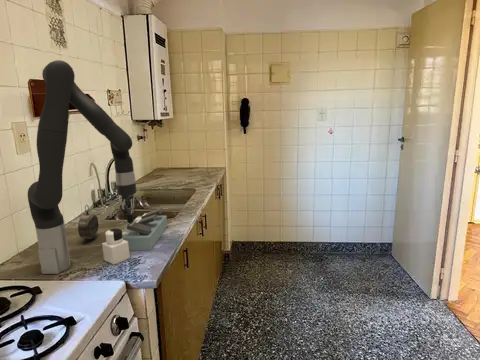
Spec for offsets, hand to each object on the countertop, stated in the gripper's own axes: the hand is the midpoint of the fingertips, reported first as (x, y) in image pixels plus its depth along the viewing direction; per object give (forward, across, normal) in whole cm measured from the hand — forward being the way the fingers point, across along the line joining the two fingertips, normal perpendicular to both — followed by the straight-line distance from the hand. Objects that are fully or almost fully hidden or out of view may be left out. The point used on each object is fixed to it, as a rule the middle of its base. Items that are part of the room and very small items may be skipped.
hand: (130, 222), depth 144 cm
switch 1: (+3, +18, -4) cm, 18 cm away
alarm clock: (+11, +7, +22) cm, 26 cm away
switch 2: (+2, +9, -4) cm, 10 cm away
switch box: (+10, +9, -2) cm, 14 cm away
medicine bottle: (+11, -13, +2) cm, 17 cm away
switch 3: (+2, 0, -4) cm, 4 cm away
